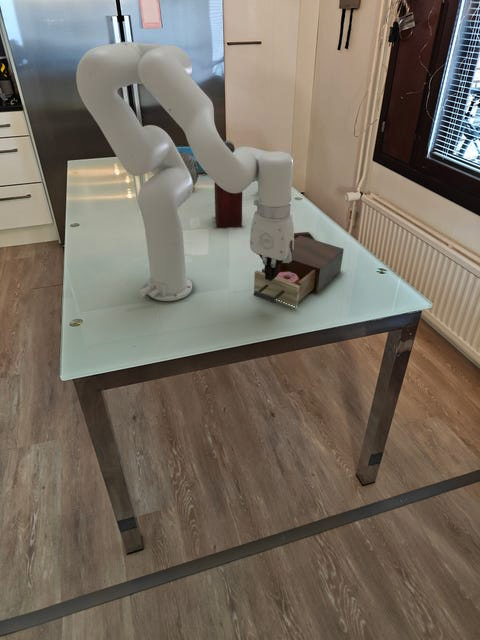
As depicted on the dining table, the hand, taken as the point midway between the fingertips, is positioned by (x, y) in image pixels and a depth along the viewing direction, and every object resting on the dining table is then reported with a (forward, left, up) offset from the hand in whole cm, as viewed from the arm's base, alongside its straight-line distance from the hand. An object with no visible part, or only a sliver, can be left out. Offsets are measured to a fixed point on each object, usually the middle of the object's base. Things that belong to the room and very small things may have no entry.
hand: (270, 277), depth 117 cm
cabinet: (+21, 0, -9) cm, 23 cm away
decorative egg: (+53, +76, -9) cm, 93 cm away
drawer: (+7, 0, -8) cm, 11 cm away
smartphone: (+38, +10, -9) cm, 40 cm away
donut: (+9, 0, -7) cm, 11 cm away
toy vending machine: (+38, +42, -9) cm, 58 cm away
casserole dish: (+76, +91, -9) cm, 119 cm away
